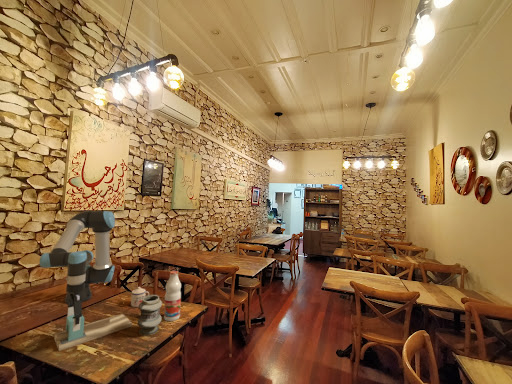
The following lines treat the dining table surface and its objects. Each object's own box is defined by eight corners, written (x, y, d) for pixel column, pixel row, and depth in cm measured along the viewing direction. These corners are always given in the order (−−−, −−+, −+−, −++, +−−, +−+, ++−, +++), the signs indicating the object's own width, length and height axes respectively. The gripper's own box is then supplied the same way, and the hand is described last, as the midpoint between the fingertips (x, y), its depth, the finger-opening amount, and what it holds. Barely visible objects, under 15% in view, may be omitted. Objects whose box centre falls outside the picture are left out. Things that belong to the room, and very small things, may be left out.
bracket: (65, 334, 119) (66, 316, 120) (79, 330, 124) (81, 312, 124) (68, 340, 114) (69, 322, 115) (83, 336, 119) (84, 317, 119)
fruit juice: (178, 313, 150) (181, 269, 152) (180, 320, 142) (183, 273, 143) (163, 315, 146) (165, 270, 148) (164, 322, 138) (166, 274, 139)
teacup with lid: (134, 308, 154) (135, 290, 155) (128, 304, 160) (129, 287, 161) (151, 303, 164) (152, 286, 164) (145, 299, 169) (146, 282, 170)
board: (53, 337, 120) (54, 327, 120) (122, 316, 143) (122, 308, 143) (58, 351, 109) (59, 340, 110) (131, 326, 133) (132, 317, 133)
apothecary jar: (136, 339, 121) (138, 303, 122) (137, 327, 132) (139, 294, 133) (161, 334, 126) (163, 300, 127) (160, 323, 137) (162, 292, 138)
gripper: (62, 278, 125) (59, 318, 125) (71, 291, 108) (68, 338, 108) (79, 275, 131) (77, 313, 130) (91, 287, 114) (88, 332, 113)
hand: (73, 324), depth 119 cm, fingers open, 13 cm apart
